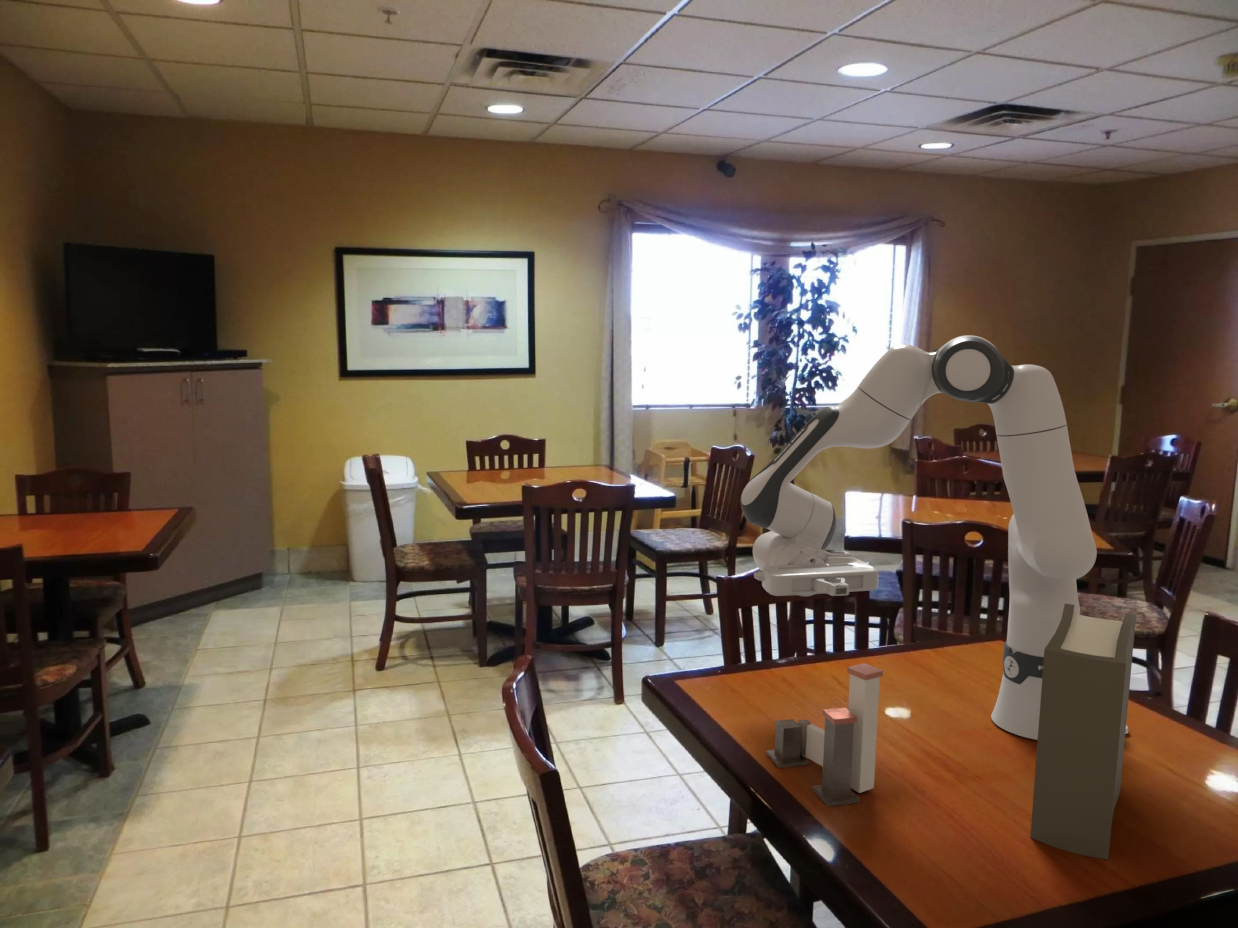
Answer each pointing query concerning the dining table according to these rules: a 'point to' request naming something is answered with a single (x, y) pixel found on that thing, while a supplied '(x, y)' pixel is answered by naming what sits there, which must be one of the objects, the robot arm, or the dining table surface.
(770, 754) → the hinge post
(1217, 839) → the dining table surface
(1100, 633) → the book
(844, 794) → the post
